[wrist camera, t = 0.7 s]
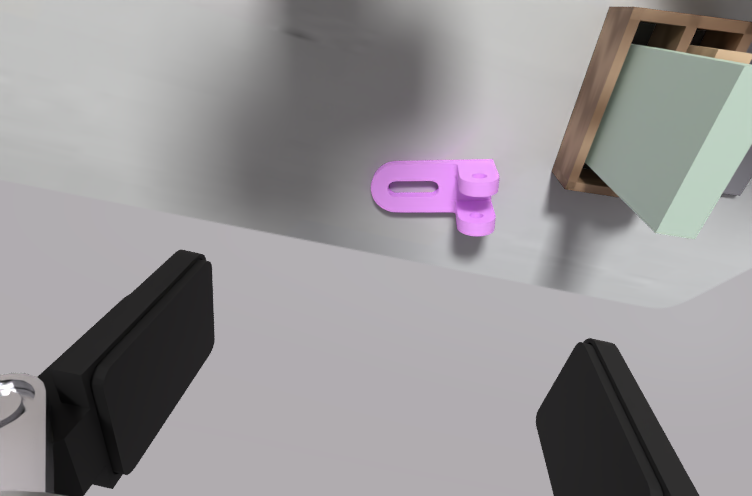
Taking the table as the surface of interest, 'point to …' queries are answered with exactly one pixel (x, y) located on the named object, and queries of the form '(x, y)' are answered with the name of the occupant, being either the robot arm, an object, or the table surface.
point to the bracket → (443, 190)
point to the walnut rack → (606, 66)
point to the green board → (673, 135)
